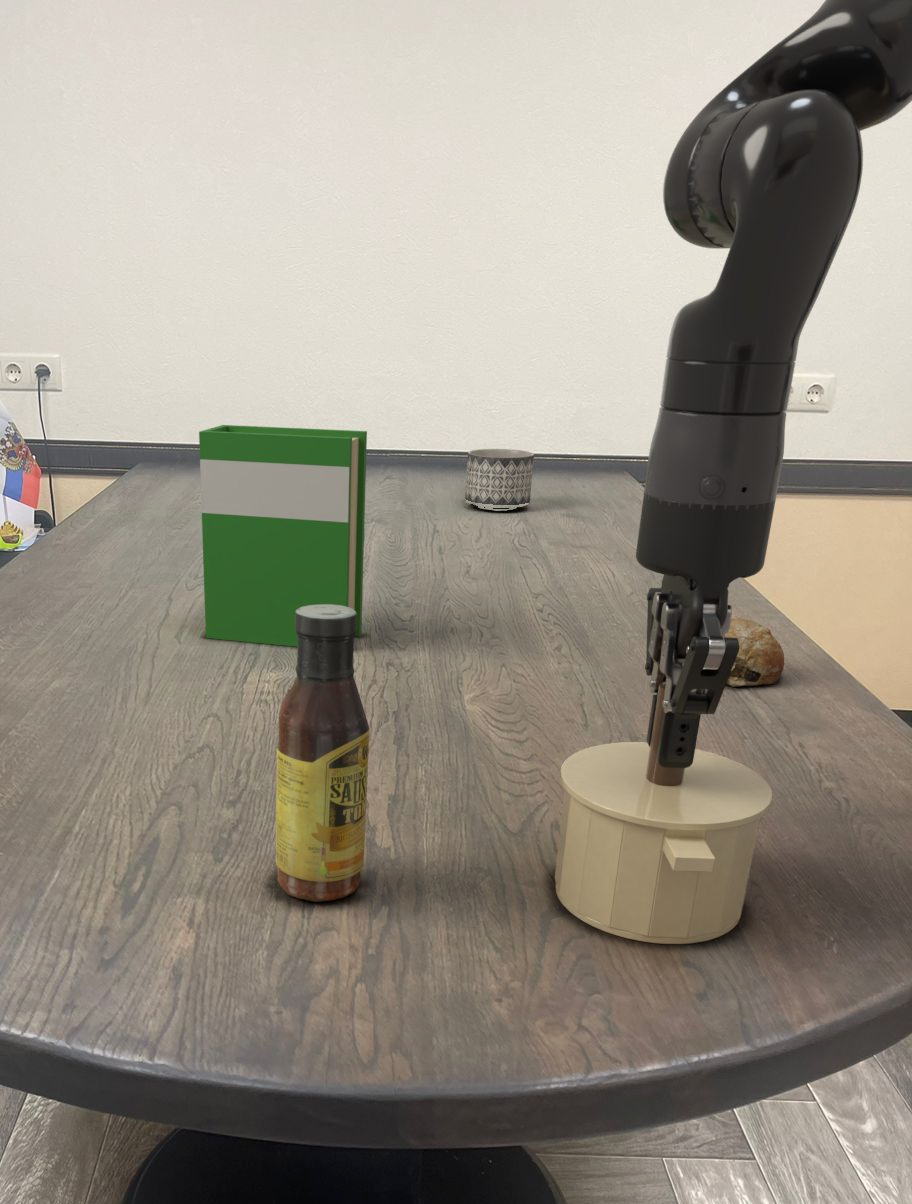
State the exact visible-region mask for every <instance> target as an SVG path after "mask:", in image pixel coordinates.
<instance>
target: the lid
mask: <svg viewBox="0 0 912 1204" xmlns="http://www.w3.org/2000/svg"><path fill="white" fill-rule="evenodd" d="M665 686H666V682H663V683H661V684H660V685H659V689H658V696H657V703H656V710H655V717H654V723H653V730H652V737H651V744H650V747H649V745H648V743H647V741H623V742H622V741H619V742H610V743H603V744H598V745H594V746H588V747H587V748H583V749H580V750H578V751H576V752H574V753H572V754H571V755H569V756H568V757H567V758H566V759H565V760H564V761H563V763H562V765H561V766H560V773H559V777H560V778H559V779H560V783H561V785H562V787H563V789H564V791H565V790H566V791H567V792H568V793H569V794H570V795H571V796H572V797H573V798H574V799H576V800H577V801H579V802H580V803H582V804H584V805H586V806H587V807H589V808H591V809H593V810H596V811H598V812H600V813H602V814H605V815H608V816H611V817H614V818H617V819H620V820H624V821H627V822H631V823H636V824H640V825H645V826H651V827H657V828H665V829H673V830H699V831H703V830H718V829H726V828H732V827H737V826H741V825H744V824H748V823H750V822H753V821H755V820H757V819H759V818H760V817H761V818H762V817H763V816H765V814H766V813H767V812H768V811H769V810H770V808H771V805H772V801H773V791H772V788H771V786H770V785H769V783H768V782H767V780H765V778H764V777H762V776H761V774H758V773H757V772H756V771H755V770H753V769H751V768H750V767H748V766H746V765H744V764H742V763H740V762H738V761H736V760H733V759H731V758H728V757H726V756H723V755H720V754H717V753H714V752H711V751H707V750H703V749H699V748H695V753H694V759H693V763H692V765H691V766H689V767H687V768H667V767H662V766H660V764H659V763H658V761H657V759H656V754H657V748H658V741H659V734H660V728H661V721H662V714H663V710H664V708H663V705H662V703H663V700H664V694H665ZM689 694H696V689H693V690H691V691H690V692H689Z"/></svg>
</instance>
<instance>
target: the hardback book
mask: <svg viewBox="0 0 912 1204" xmlns="http://www.w3.org/2000/svg"><path fill="white" fill-rule="evenodd" d="M198 440H199V441H198V442H199V443H198V444H199V469H200V470H199V471H200V473H199V475H200V498H201V499H200V500H201V501H200V502H201V530H202V531H201V533H202V535H201V536H202V560H203V561H202V564H203V593H204V596H203V597H204V621H205V622H204V623H205V638H206V639H213V640H214V639H215V640H225V641H233V642H234V641H235V642H243V643H245V642H246V643H254V644H265V645H274V646H275V645H276V646H285V647H286V646H287V647H296V648H297V644H298V641H297V639H298V637H297V633H296V630H295V612H296V610H297V609H299V608H300V607H303V606H308V605H321V604H333V605H342V606H346V607H349V608H352V609H353V610H355V611H356V613H357V632H356V634H355V636H354V637H359V638H360V637H361V636H362V625H363V624H362V623H363V593H364V592H363V590H364V583H363V582H364V554H365V552H364V551H365V549H364V548H365V517H366V483H367V481H366V479H367V443H368V431H367V430H345V429H324V428H303V427H302V428H301V427H283V426H282V427H281V426H280V427H279V426H278V427H277V426H260V425H259V426H258V425H257V426H256V425H255V426H254V425H235V424H234V425H233V424H221V425H218V426H214V427H210V428H207V429H204V430H200V431H199V432H198Z"/></svg>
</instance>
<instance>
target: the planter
mask: <svg viewBox="0 0 912 1204" xmlns="http://www.w3.org/2000/svg"><path fill="white" fill-rule="evenodd" d="M534 460H535V454H534V453H533V452H532V451H527V450H520V449H510V448H508V449H507V448H483V449H482V448H480V449H479V448H478V449H473V450H468V452H467V462H466V463H467V464H466V475H465V476H466V478H465V492H464V500H465V499H466V500H468V501H471V502H475V503H482V504H493V505H519V504H525V503H529V502H530V503H531V494H532V483H533V482H532V481H533V473H534V472H533V470H534ZM530 503H529V504H530ZM471 506H473V505H471ZM473 507H474V506H473ZM477 507H478V506H477ZM477 507H476V508H477ZM484 508H485V507H484ZM493 509H509V508H493Z"/></svg>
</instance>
